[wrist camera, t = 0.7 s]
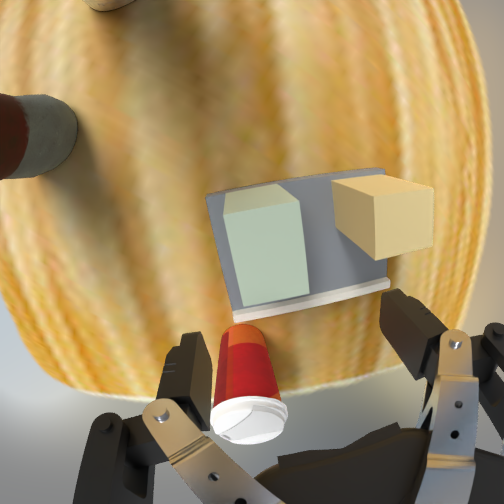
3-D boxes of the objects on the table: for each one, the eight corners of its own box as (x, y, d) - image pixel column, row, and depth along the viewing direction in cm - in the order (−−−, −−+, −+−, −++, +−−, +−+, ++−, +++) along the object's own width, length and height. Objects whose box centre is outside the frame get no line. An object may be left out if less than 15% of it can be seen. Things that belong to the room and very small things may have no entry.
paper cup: (237, 368, 37) (242, 452, 24) (201, 336, 34) (191, 425, 21) (283, 342, 36) (305, 427, 22) (249, 305, 33) (261, 395, 20)
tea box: (239, 259, 28) (243, 306, 20) (225, 193, 26) (223, 215, 18) (288, 250, 28) (312, 292, 20) (278, 183, 26) (302, 200, 18)
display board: (207, 194, 28) (204, 199, 25) (376, 167, 28) (389, 170, 25) (234, 308, 33) (234, 322, 30) (379, 276, 33) (389, 287, 30)
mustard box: (331, 180, 26) (373, 196, 18) (381, 174, 26) (434, 188, 18) (335, 229, 28) (375, 263, 20) (383, 220, 28) (432, 248, 20)
